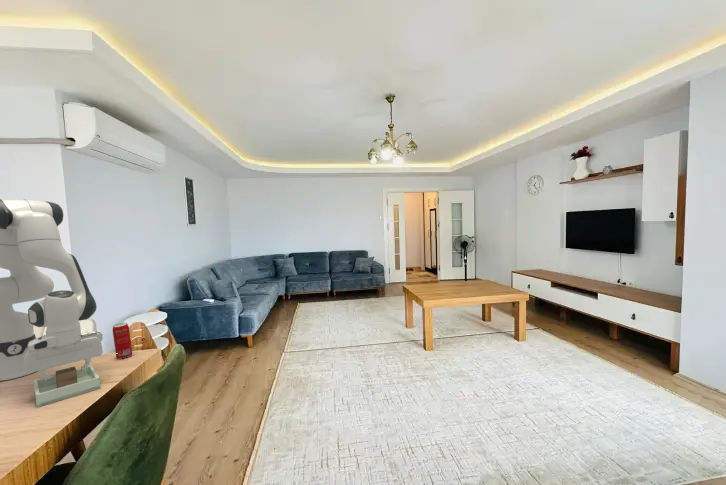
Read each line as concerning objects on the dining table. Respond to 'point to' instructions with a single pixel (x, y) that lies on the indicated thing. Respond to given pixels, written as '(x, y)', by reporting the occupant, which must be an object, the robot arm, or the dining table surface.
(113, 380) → the dining table surface
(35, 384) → the bin
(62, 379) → the walnut block
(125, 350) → the beverage can
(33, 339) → the robot arm
